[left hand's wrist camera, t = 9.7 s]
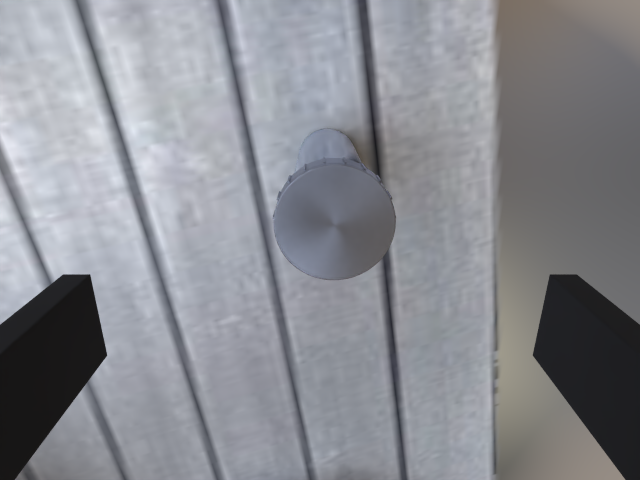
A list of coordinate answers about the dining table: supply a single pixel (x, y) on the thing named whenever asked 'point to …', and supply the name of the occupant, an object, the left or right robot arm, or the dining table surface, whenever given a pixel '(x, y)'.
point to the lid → (334, 219)
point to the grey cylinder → (326, 147)
